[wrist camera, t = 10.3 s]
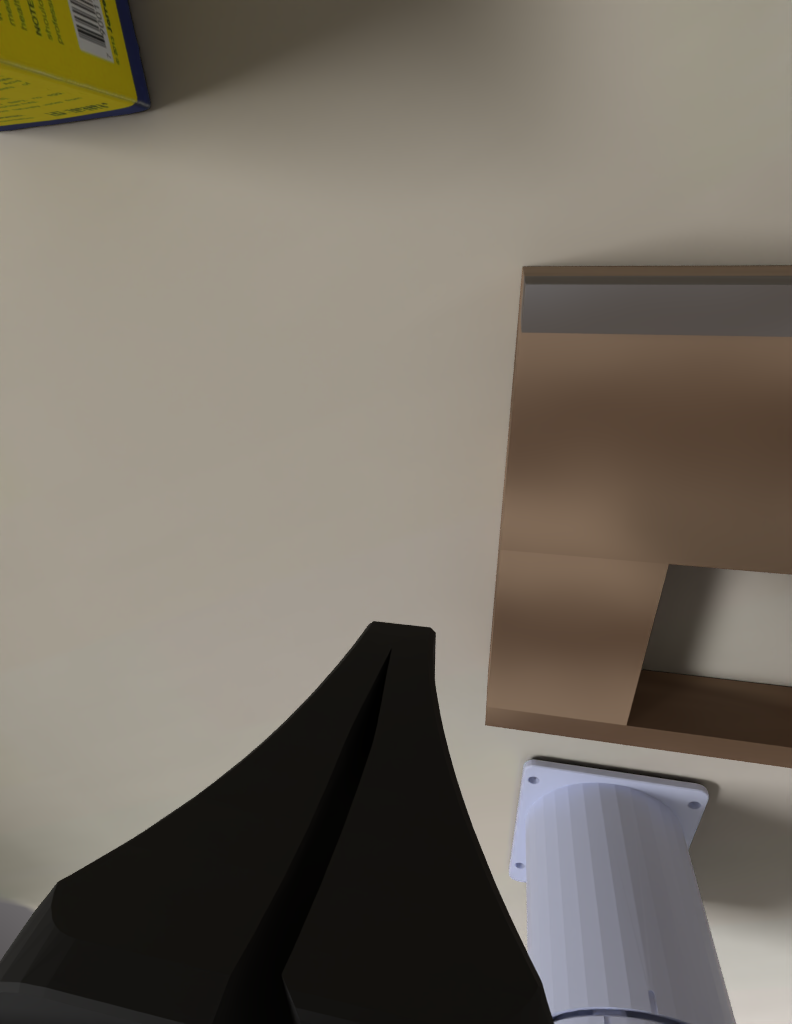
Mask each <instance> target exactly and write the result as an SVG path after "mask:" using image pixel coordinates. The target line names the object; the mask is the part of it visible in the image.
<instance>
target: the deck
mask: <svg viewBox="0 0 792 1024" xmlns="http://www.w3.org/2000/svg"><path fill="white" fill-rule="evenodd" d="M669 564H673V565H685V566H697V567H709V568H721V569H733V570H744V571H756V572H768V573H780V574H792V265H769V266H544V267H523V268H522V279H521V291H520V303H519V315H518V327H517V338H516V350H515V362H514V374H513V385H512V397H511V409H510V421H509V433H508V444H507V456H506V468H505V480H504V492H503V503H502V515H501V527H500V539H499V550H498V562H497V574H496V586H495V598H494V609H493V621H492V633H491V645H490V657H489V668H488V685H487V703H486V721H485V725H488V726H495V727H502V728H509V729H516V730H523V731H531V732H538V733H545V734H552V735H559V736H566V737H573V738H580V739H588V740H595V741H602V742H609V743H616V744H623V745H630V746H637V747H645V748H652V749H659V750H666V751H673V752H680V753H687V754H694V755H702V756H709V757H716V758H723V759H730V760H737V761H744V762H751V763H759V764H766V765H773V766H780V767H787V768H792V687H784V686H776V685H767V684H759V683H750V682H742V681H733V680H725V679H716V678H708V677H699V676H690V675H682V674H673V673H665V672H656V671H648V670H641V668H642V664H643V661H644V657H645V653H646V649H647V645H648V642H649V638H650V634H651V630H652V626H653V623H654V619H655V615H656V611H657V608H658V604H659V600H660V596H661V592H662V589H663V585H664V581H665V577H666V573H667V570H668V566H669Z"/></svg>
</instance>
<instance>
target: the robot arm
mask: <svg viewBox="0 0 792 1024" xmlns="http://www.w3.org/2000/svg"><path fill="white" fill-rule="evenodd" d="M435 640H436V633H435V632H434V631H433V630H432V629H431V628H430V627H421V626H412V625H403V624H394V623H385V622H376V621H373V622H372V623H370V624H369V625H368V626H367V628H366V629H365V630H364V632H363V633H362V635H361V636H360V637H359V639H358V640H357V641H356V643H355V644H354V645H353V646H352V648H351V649H350V650H349V651H348V653H347V654H346V655H345V656H344V658H343V659H342V660H341V661H340V662H339V664H338V665H337V666H336V667H335V668H334V670H333V671H332V672H331V673H330V674H329V675H328V676H327V678H326V679H325V680H324V681H323V682H322V683H321V684H320V686H319V687H318V688H317V689H316V690H315V691H314V692H313V693H312V694H311V695H310V696H309V697H308V699H307V700H306V701H305V702H304V703H303V704H302V705H301V706H300V707H299V708H298V709H297V710H296V711H295V712H294V713H293V714H292V715H291V716H290V717H289V718H288V719H287V720H286V721H285V722H284V723H283V724H282V725H281V726H280V727H279V728H278V729H277V730H275V731H274V732H273V733H272V734H271V735H270V736H269V737H268V738H267V739H266V740H265V741H264V742H262V743H261V744H260V745H259V746H258V747H257V748H256V749H254V750H253V751H252V752H251V753H250V754H249V755H247V756H246V757H245V758H244V759H243V760H242V761H240V762H239V763H238V764H236V765H235V766H234V767H233V768H231V769H230V770H229V771H228V772H226V773H225V774H224V775H223V776H221V777H220V778H219V779H218V780H216V781H215V782H214V783H213V784H211V785H210V786H209V787H207V788H206V789H205V790H203V791H202V792H201V793H199V794H198V795H196V796H195V797H194V798H192V799H191V800H189V801H188V802H186V803H185V804H184V805H182V806H181V807H179V808H178V809H176V810H175V811H173V812H172V813H170V814H169V815H167V816H166V817H164V818H163V819H161V820H160V821H158V822H157V823H156V824H154V825H153V826H151V827H150V828H148V829H147V830H145V831H144V832H142V833H141V834H139V835H137V836H136V837H134V838H133V839H131V840H129V841H128V842H126V843H124V844H123V845H121V846H119V847H118V848H116V849H114V850H113V851H111V852H109V853H107V854H106V855H104V856H102V857H101V858H99V859H97V860H95V861H94V862H92V863H90V864H89V865H87V866H85V867H84V868H82V869H80V870H78V871H77V872H75V873H73V874H71V875H70V876H68V877H66V878H64V879H62V880H60V881H59V882H57V884H56V885H55V886H54V888H53V889H52V890H51V892H50V893H49V894H48V895H47V897H46V898H45V899H44V900H43V902H42V903H41V904H40V905H39V906H38V908H37V909H36V910H35V912H34V913H33V914H32V916H31V917H30V919H29V920H28V922H27V923H26V925H25V926H24V927H23V929H22V930H21V932H20V933H19V935H18V936H17V938H16V939H15V941H14V942H13V943H12V945H11V946H10V948H9V949H8V951H7V952H6V954H5V955H4V956H3V958H2V960H1V961H0V1024H736V1022H735V1018H734V1015H733V1011H732V1007H731V1004H730V1000H729V996H728V993H727V989H726V986H725V982H724V978H723V975H722V971H721V967H720V964H719V960H718V957H717V953H716V949H715V946H714V942H713V938H712V935H711V931H710V927H709V924H708V920H707V917H706V913H705V909H704V906H703V902H702V898H701V895H700V891H699V888H698V884H697V880H696V877H695V873H694V869H693V866H692V862H691V859H690V855H689V851H688V850H689V847H690V845H691V842H692V840H693V837H694V835H695V832H696V830H697V827H698V825H699V822H700V820H701V817H702V815H703V813H704V810H705V808H706V805H707V803H708V800H709V794H708V791H707V789H706V788H705V787H704V786H703V785H700V784H697V783H690V782H683V781H676V780H670V779H663V778H656V777H650V776H643V775H636V774H629V773H623V772H616V771H609V770H603V769H596V768H589V767H582V766H576V765H569V764H562V763H556V762H549V761H542V760H534V759H531V760H528V761H526V762H525V763H524V766H523V773H522V780H521V788H520V795H519V802H518V809H517V816H516V823H515V830H514V837H513V844H512V851H511V858H510V865H509V876H510V877H511V878H512V879H514V880H516V881H520V882H526V891H527V944H528V953H527V951H526V949H525V947H524V945H523V942H522V940H521V938H520V936H519V934H518V932H517V930H516V928H515V926H514V924H513V922H512V919H511V917H510V915H509V913H508V910H507V908H506V906H505V904H504V902H503V899H502V897H501V895H500V893H499V890H498V888H497V886H496V884H495V881H494V879H493V876H492V874H491V871H490V869H489V866H488V864H487V861H486V859H485V856H484V854H483V851H482V849H481V846H480V844H479V841H478V839H477V836H476V834H475V831H474V829H473V826H472V823H471V820H470V818H469V815H468V812H467V809H466V806H465V803H464V800H463V797H462V794H461V791H460V788H459V785H458V781H457V778H456V775H455V772H454V768H453V765H452V761H451V758H450V754H449V750H448V746H447V742H446V738H445V734H444V730H443V725H442V720H441V716H440V710H439V704H438V698H437V692H436V686H435Z"/></svg>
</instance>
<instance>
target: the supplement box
mask: <svg viewBox="0 0 792 1024" xmlns="http://www.w3.org/2000/svg"><path fill="white" fill-rule="evenodd" d="M150 105H151V102H150V98H149V94H148V90H147V85H146V81H145V76H144V72H143V67H142V63H141V59H140V55H139V46H138V43H137V40H136V36H135V32H134V27H133V22H132V18H131V14H130V10H129V5H128V0H0V131H7V130H15V129H21V128H28V127H35V126H44V125H53V124H60V123H66V122H73V121H81V120H88V119H94V118H101V117H109V116H117V115H125V114H131V113H135V112H140V111H144V110H147V109H148V108H150Z"/></svg>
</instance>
